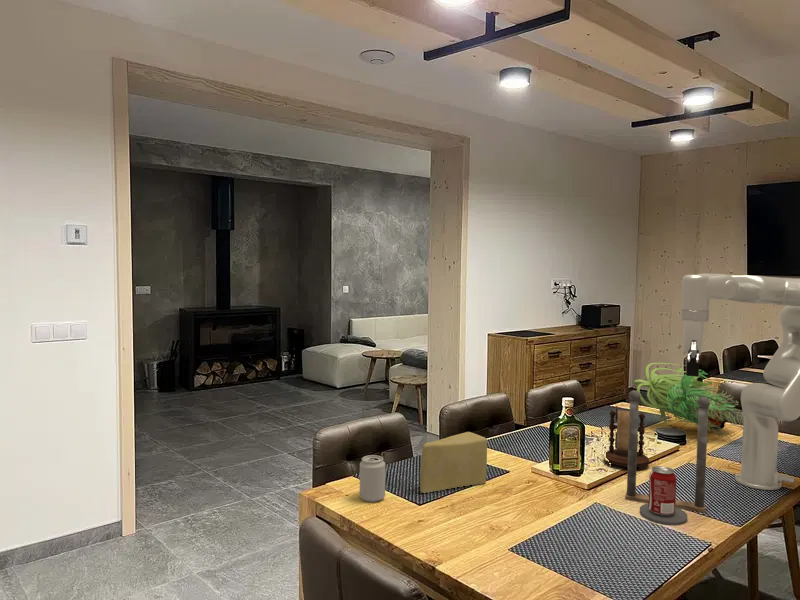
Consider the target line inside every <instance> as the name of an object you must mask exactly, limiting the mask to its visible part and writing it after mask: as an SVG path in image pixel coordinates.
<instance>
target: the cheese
mask: <svg viewBox="0 0 800 600" xmlns="http://www.w3.org/2000/svg"><path fill="white" fill-rule="evenodd" d="M421 452H422V453H421V461H420V473H419V474H420V477H419V480H420V481H419V487H420V488H419V489H420V493H421V492H422V493H426V492H432V491H439V490H444V491H446V490H445V489H450V490H452V489H451V488H455V489H458V488H457V487H460V488H464V487H463V486H466V487H471V486H470V485H472V486H478V485H484V484H486V483H487V466H488V465H487V463H488V439H487V438H486V437H485V436H482V435H479V434H477V433H474V432H471V431H466V432H463V433H462V432H461V433H458V434H455V435H451V436H447V437H445V438H444V437H443V438H441V439H438V440H433V441H429V442H426V443H424V444H423V445H422V450H421ZM439 492H440V491H439ZM422 493H421V494H422Z"/></svg>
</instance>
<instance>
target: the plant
mask: <svg viewBox="0 0 800 600" xmlns="http://www.w3.org/2000/svg"><path fill="white" fill-rule="evenodd" d="M652 365H673V366H679V364H678V363H677V364H676V363H670V362H652V363H648V364H647V365H646V367H645V376H646V378H647V380H645V379H640V378H639V379H635V380H634V381H633V382H632V383H633V384H634V385H636V386H637V387H636V388H637V389H636V391H638V392H639V393H640V399H639V400H640V401H641V403H643V404H644V405H646V407H644V408H646V409H647V410H648V411H652V412H654V413H657V412H658V413H659V414H660V419H658V417H659V416H657V415H655V418H649V419H648V420H651V421H652V420H653V421H663V422H661V423H660V425H664V427H663V429H664V428H666V427H667V428H669V425H670V424H672V423H671V422H678V423H679V422H680V423H684V424H683V425H682V427H684V426H686V425H687V423H688V425H689V426H688V427H687V429H689V428H690V427H692V426H693V427H695V426H698V411H699V406H698V404H697V401H698V399H699V398H700V397H707V398H708V399H709V400H710V405H709V407H708V427H707V429H708V431H709V432H710V433H711V430H713V432H714V434H717V435H718V437H720V435H721V439H725V437H726V438H727V439H728V440H729V441H730V442H731V441H732V440H731V439H730V438H729V437H728V436H730V437H732V435H731V434H729V431H727V430H724V428H725V426H726V425H725V424H726V423H727V422H729V423H731V425H732V426H735V427H736V426H737V427H738V428H740V429H742V430H743V412H742V410H740V409H738V411H737V409H736V408H735V407H736V406H738V407H740V406H741V407H742V405H741V404H739V401H737V400H735V401H734V400H733V397H732V396H731V395H732V394H729V395H727V393H728V392H727V390H726V392H725V393H724V390H722V392H718V391H717V390H721V389H720V388H717V387H714V386H711V385H713V380H711V379H710V381H709V380H708V381H707V379H708V377H706V376H705V375H709V373H707V372H705V371H704V370H702V369H700V368H699V376H687V375H686V371H687V370H686V371H685V370H684V371H683V369H684V367H683V366H680V367H679V368H677V370H675V369H671V368H669V367H655V368H653V369H652V370H651V373H649V369H650V367H651V366H652ZM658 370H669V371H673V372H676V373H675V374H669V373H668V374H661V375H660V374H657V373H656V371H658ZM681 373H684V374H681ZM698 378H701V379H702V380H704V381H705V382H704V381H700V380H698ZM704 378H705V379H704ZM641 387H646V388H647V392H646V395H645V396H646V398H647V399H648V401H649V402H650V403H649V402H648V401H646V400H645V398H644V396H642V394H641V392H640V391H641ZM729 401H730V402H729ZM647 406H648V408H647ZM649 407H650V408H649ZM651 408H654V409H655V410H654V409H651ZM739 412H741V414H742V415H740V414H739ZM643 414H644V415H645V416H646V413H643ZM732 414H734V415H736V416H733V415H732ZM638 415H640V413H639V412H638ZM649 416H650V417H653V415H649ZM656 417H657V418H656ZM671 417H674V419H672V418H671ZM738 417H739V418H738ZM668 420H669V422H668V425H667V421H668ZM736 420H737V421H736ZM737 422H738V423H737ZM727 435H728V436H727ZM724 436H725V437H724Z"/></svg>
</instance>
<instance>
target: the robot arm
mask: <svg viewBox="0 0 800 600" xmlns="http://www.w3.org/2000/svg"><path fill="white" fill-rule="evenodd" d="M680 298H681V302H680V321H681V322H684V323H683V332H682V333H683V334H682V336H683V337H682V354H683V355H686V354H687V357H686V372H685V374H686V375H687V376H699V372H700V371H699V370H700V362H699V359H700V358H699V356H701V354H702V349H703V343H704V342H703V341H704V329H705V328H704V327H705V323H709V321H710V320H709V319H710V299H711V300H712V299H713V300H727V301H734V302H739V303H746V304H747V303H748V304H758V305H759V304H762V305H773V306H784V307H783V308H782V309H781V311H780V315H779V320H780V324H781V329H782V341H781V343H780V345H779V347H778V348H777V350H776V351H775V353H774V354H773V355H772V357H771V358H770V359H769V361H768V363H767V364H766V365H765V368H764V369H763V373H762V374H763V378H764V380H765V381H766V382H767V383H768V384H767V383H762V382H751V383H748V384H747V385H745V386H744V387H743V388H742V390H741V392H740V406H741V405H742V406H741V409H742V410H741V412H742V413H743V414H742V416H743V417H742V419H743V422H742V423H743V424H742V427H743V429H742V443H741V461H740V462H741V464H740V466H741V467H740V472H739V473H736V474H735V476H734V479H735V481H736V482H737V483H739V484H740V485H742V486H746V487H748V488H752V489H757V490H764V491H774V490H780V489H781V488H782V485H783V484H782V482H784V483H789V484H794V483H795V477H794V476H789V474H785V473H784V474H783V473H780V472H778V470H777V465H778V464H777V463H778V458H777V457H778V445H779V444H778V443H779V440H778V439H779V426H778V423H777V420H779V421H783V422H794V421H795V420H797V419H798V418H799V417H800V278H791V277H789V278H787V277H776V276H764V275H753V274H752V275H749V274H748V275H745V274H744V275H730V274H725V273H699V274H686V275H684V276H683V277H682V280H681V297H680ZM770 384H771V385H770Z"/></svg>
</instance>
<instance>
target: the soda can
mask: <svg viewBox="0 0 800 600" xmlns="http://www.w3.org/2000/svg"><path fill="white" fill-rule="evenodd" d="M648 477H649V479H648V495H649V502H648V503H647V504H648V509H649V510H650V511H651V512H653V513H654V514H656V515H660V516H670V515H673V514H674V513H675V504H676V500H677V498H676V496H677V476H676V474H675V470H674V469H673V468H672V467H671V468H670V467H668V466H661V465H655V466H653V467H651V471H650V472H649V475H648Z"/></svg>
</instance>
